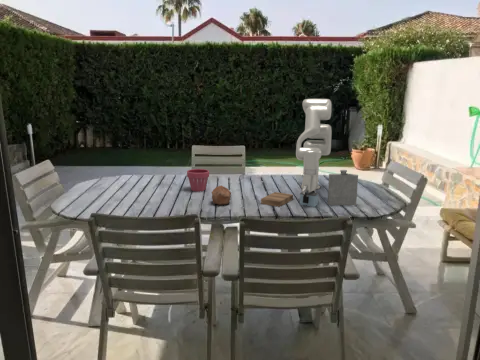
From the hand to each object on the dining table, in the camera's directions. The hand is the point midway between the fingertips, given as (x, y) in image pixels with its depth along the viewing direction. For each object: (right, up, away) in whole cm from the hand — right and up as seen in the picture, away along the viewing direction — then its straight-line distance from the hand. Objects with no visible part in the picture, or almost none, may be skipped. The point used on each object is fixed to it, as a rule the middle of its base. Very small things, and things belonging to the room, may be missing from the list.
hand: (308, 201), depth 231 cm
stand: (-17, -1, +6) cm, 19 cm away
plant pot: (-66, +5, +33) cm, 74 cm away
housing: (0, -2, +1) cm, 2 cm away
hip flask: (+19, -2, +1) cm, 19 cm away
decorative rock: (-50, -2, +3) cm, 50 cm away
